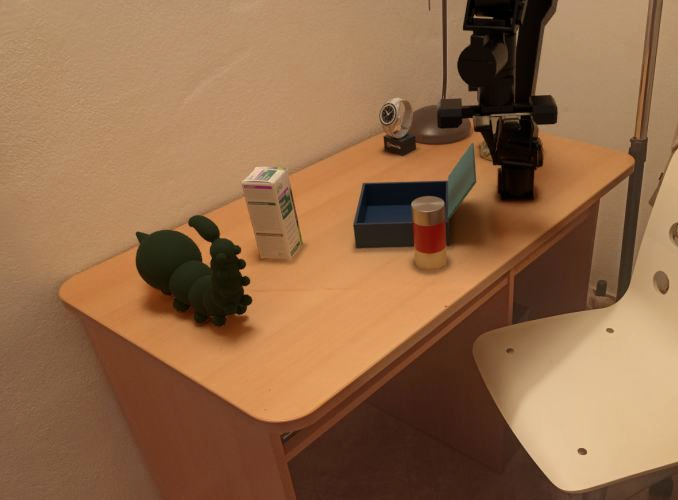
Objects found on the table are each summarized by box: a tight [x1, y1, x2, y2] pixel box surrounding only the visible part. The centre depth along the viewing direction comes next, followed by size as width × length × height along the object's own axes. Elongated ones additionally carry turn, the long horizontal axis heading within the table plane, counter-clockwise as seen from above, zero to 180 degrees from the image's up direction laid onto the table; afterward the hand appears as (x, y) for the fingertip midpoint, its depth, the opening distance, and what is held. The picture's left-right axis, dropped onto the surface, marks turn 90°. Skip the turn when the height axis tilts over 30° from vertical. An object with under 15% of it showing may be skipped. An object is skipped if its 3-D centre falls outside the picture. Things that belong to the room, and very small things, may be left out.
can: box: [411, 196, 448, 271], centre depth 109 cm, size 5×5×11 cm
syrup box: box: [240, 166, 304, 261], centre depth 112 cm, size 6×6×14 cm
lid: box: [447, 142, 477, 220], centre depth 117 cm, size 8×16×1 cm
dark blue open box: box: [352, 180, 450, 249], centre depth 121 cm, size 16×16×5 cm
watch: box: [378, 97, 417, 156], centre depth 146 cm, size 6×8×11 cm
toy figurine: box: [135, 214, 253, 328], centre depth 99 cm, size 9×19×25 cm
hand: (495, 162), depth 112 cm, fingers closed
